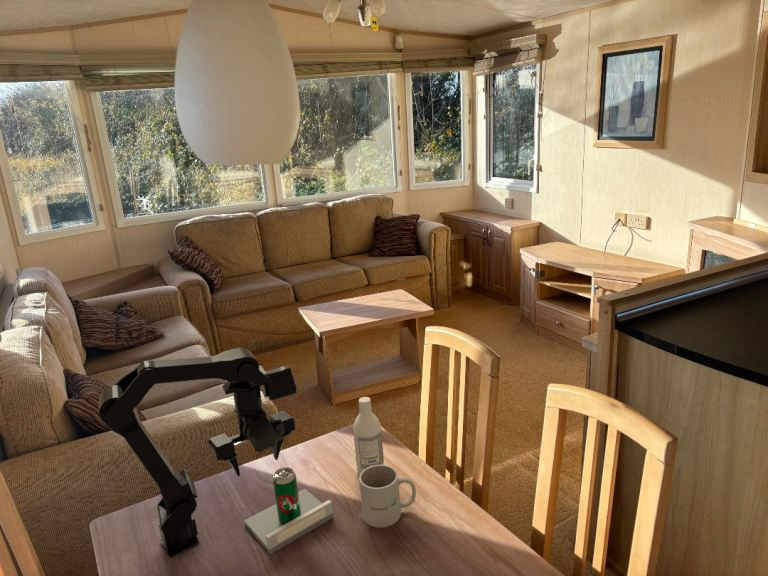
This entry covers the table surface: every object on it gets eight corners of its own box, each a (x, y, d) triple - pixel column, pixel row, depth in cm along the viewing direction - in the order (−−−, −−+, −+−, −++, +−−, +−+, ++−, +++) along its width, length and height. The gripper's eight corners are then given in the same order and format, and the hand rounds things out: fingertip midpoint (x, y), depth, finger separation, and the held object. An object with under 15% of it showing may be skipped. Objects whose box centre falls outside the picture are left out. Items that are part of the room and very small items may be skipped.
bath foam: (389, 470, 140) (384, 400, 134) (366, 481, 137) (359, 409, 131) (375, 458, 146) (369, 389, 140) (352, 467, 142) (345, 398, 136)
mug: (361, 528, 121) (357, 489, 118) (364, 501, 130) (360, 465, 127) (417, 526, 121) (414, 487, 118) (416, 500, 129) (414, 463, 126)
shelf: (270, 555, 116) (268, 538, 114) (244, 525, 125) (242, 509, 124) (334, 517, 125) (332, 502, 124) (305, 492, 134) (303, 477, 133)
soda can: (289, 508, 127) (282, 463, 124) (306, 515, 125) (299, 470, 121) (274, 522, 123) (266, 476, 120) (291, 529, 121) (284, 483, 117)
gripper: (221, 436, 109) (232, 503, 113) (304, 404, 119) (311, 466, 124) (201, 415, 117) (212, 477, 122) (280, 386, 128) (288, 445, 133)
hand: (257, 467), depth 125 cm, fingers open, 9 cm apart
